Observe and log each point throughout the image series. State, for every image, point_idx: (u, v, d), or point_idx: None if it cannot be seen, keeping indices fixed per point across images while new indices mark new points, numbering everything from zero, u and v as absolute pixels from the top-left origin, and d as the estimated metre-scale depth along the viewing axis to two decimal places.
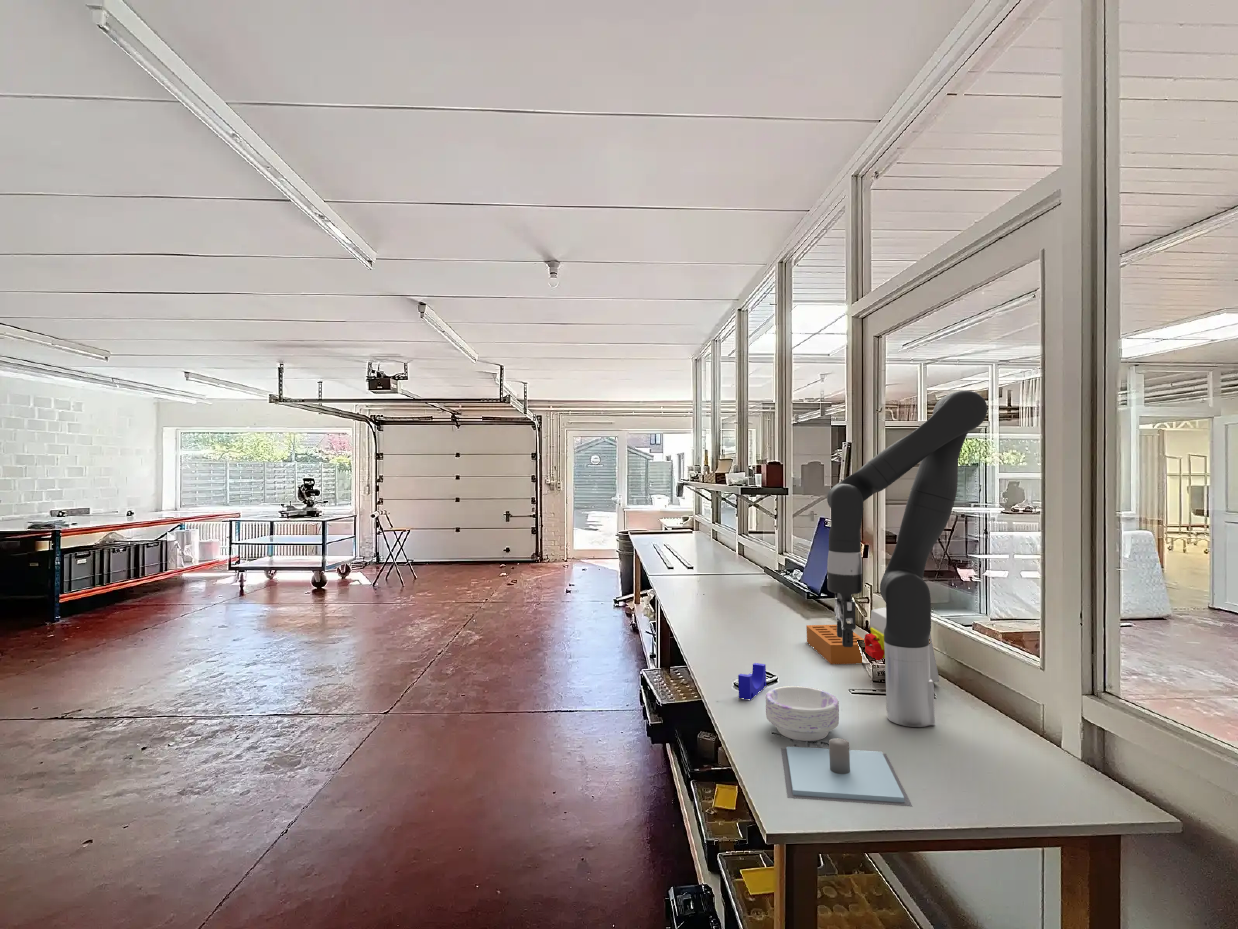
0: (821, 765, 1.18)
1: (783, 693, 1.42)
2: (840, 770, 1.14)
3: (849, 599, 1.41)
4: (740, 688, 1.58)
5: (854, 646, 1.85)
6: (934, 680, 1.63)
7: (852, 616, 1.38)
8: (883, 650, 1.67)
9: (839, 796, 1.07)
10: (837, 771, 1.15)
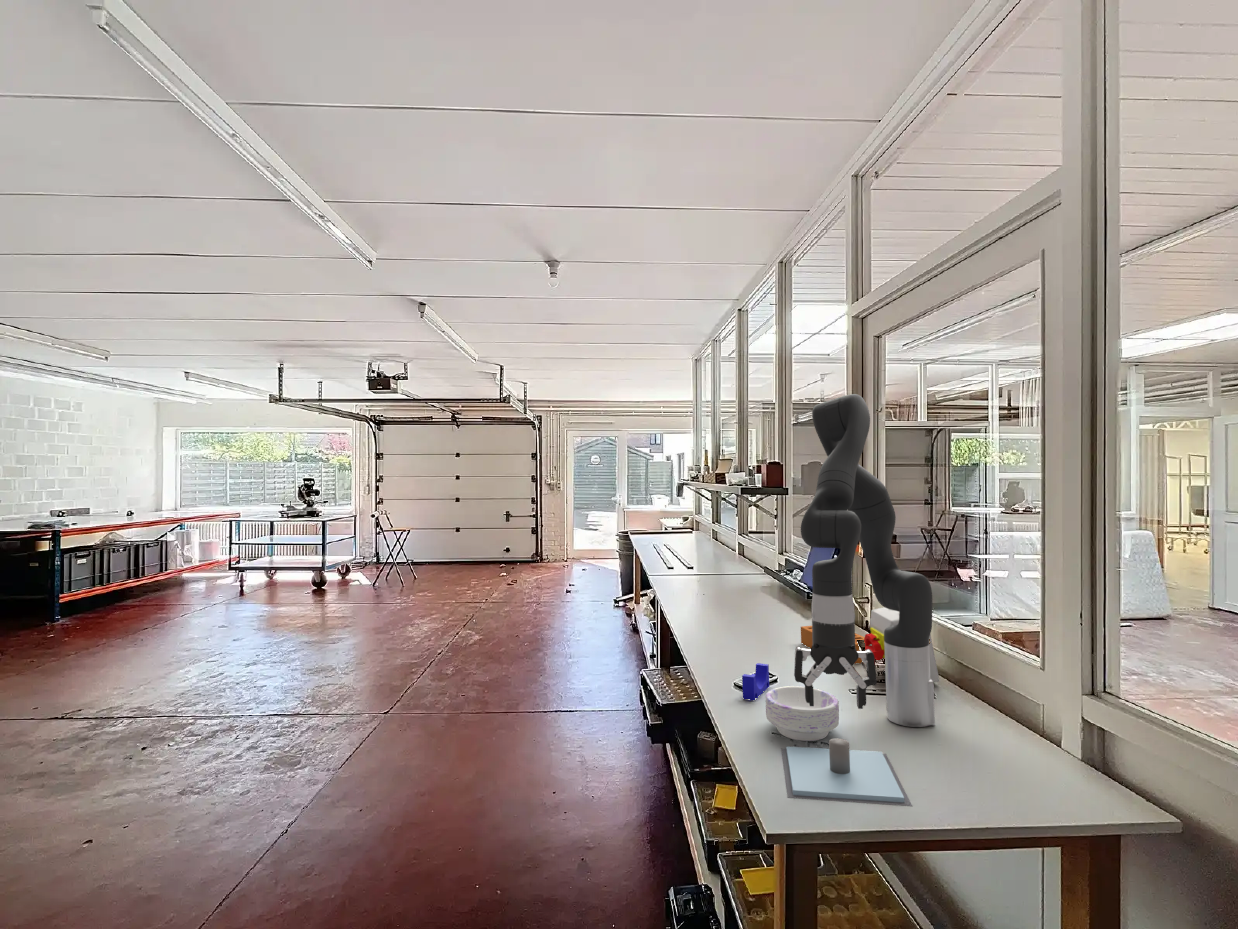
0: (821, 765, 1.18)
1: (783, 693, 1.42)
2: (840, 770, 1.14)
3: None
4: (744, 688, 1.58)
5: None
6: (934, 680, 1.63)
7: None
8: (883, 650, 1.67)
9: (839, 796, 1.07)
10: (837, 771, 1.15)
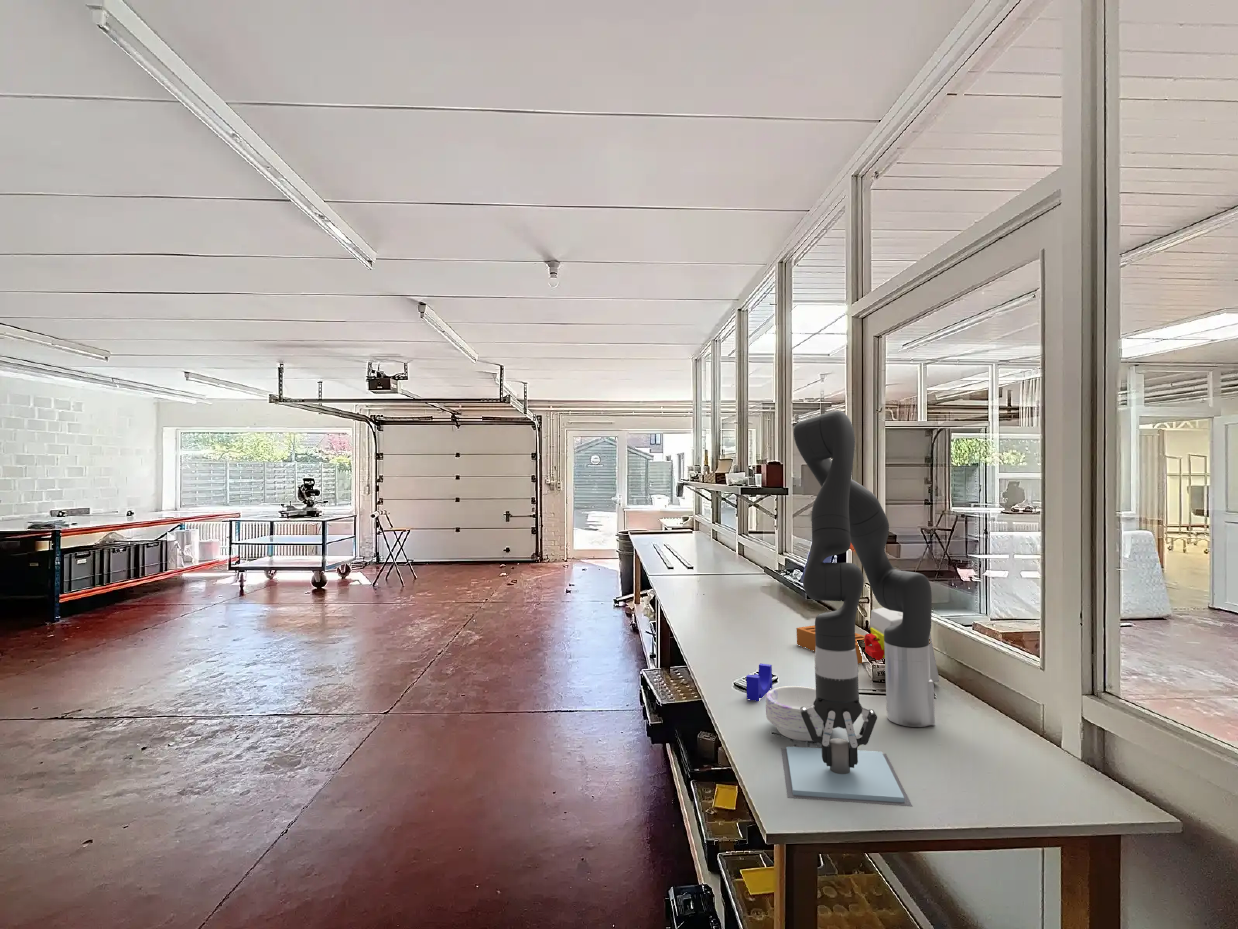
0: (821, 765, 1.18)
1: (783, 693, 1.42)
2: (840, 770, 1.14)
3: None
4: (748, 689, 1.57)
5: None
6: (934, 680, 1.63)
7: None
8: (883, 650, 1.67)
9: (839, 796, 1.07)
10: (837, 771, 1.15)
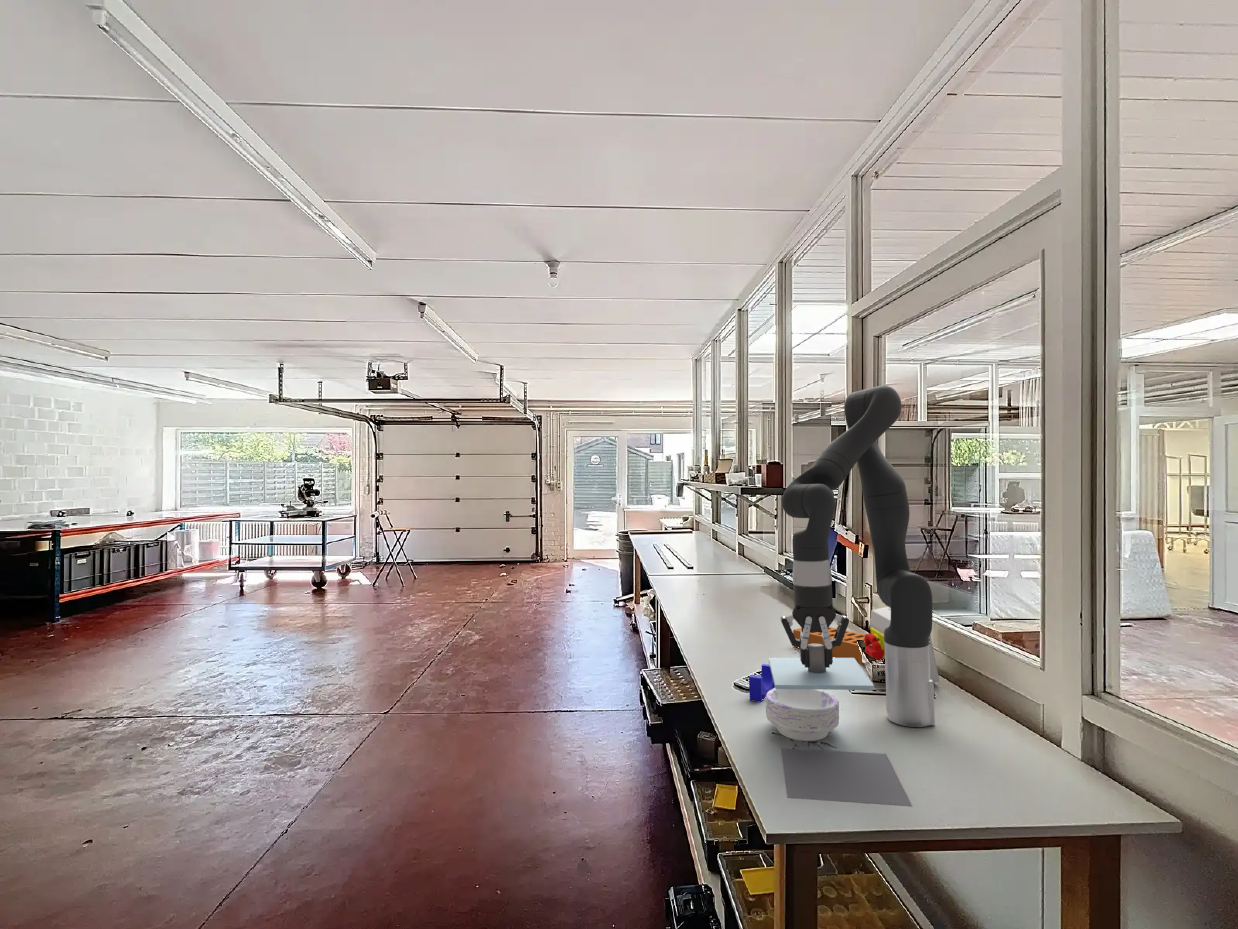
0: (800, 668, 1.30)
1: (783, 693, 1.42)
2: (817, 670, 1.27)
3: None
4: (751, 690, 1.57)
5: None
6: (934, 680, 1.63)
7: None
8: (883, 650, 1.67)
9: (816, 688, 1.20)
10: (814, 671, 1.27)
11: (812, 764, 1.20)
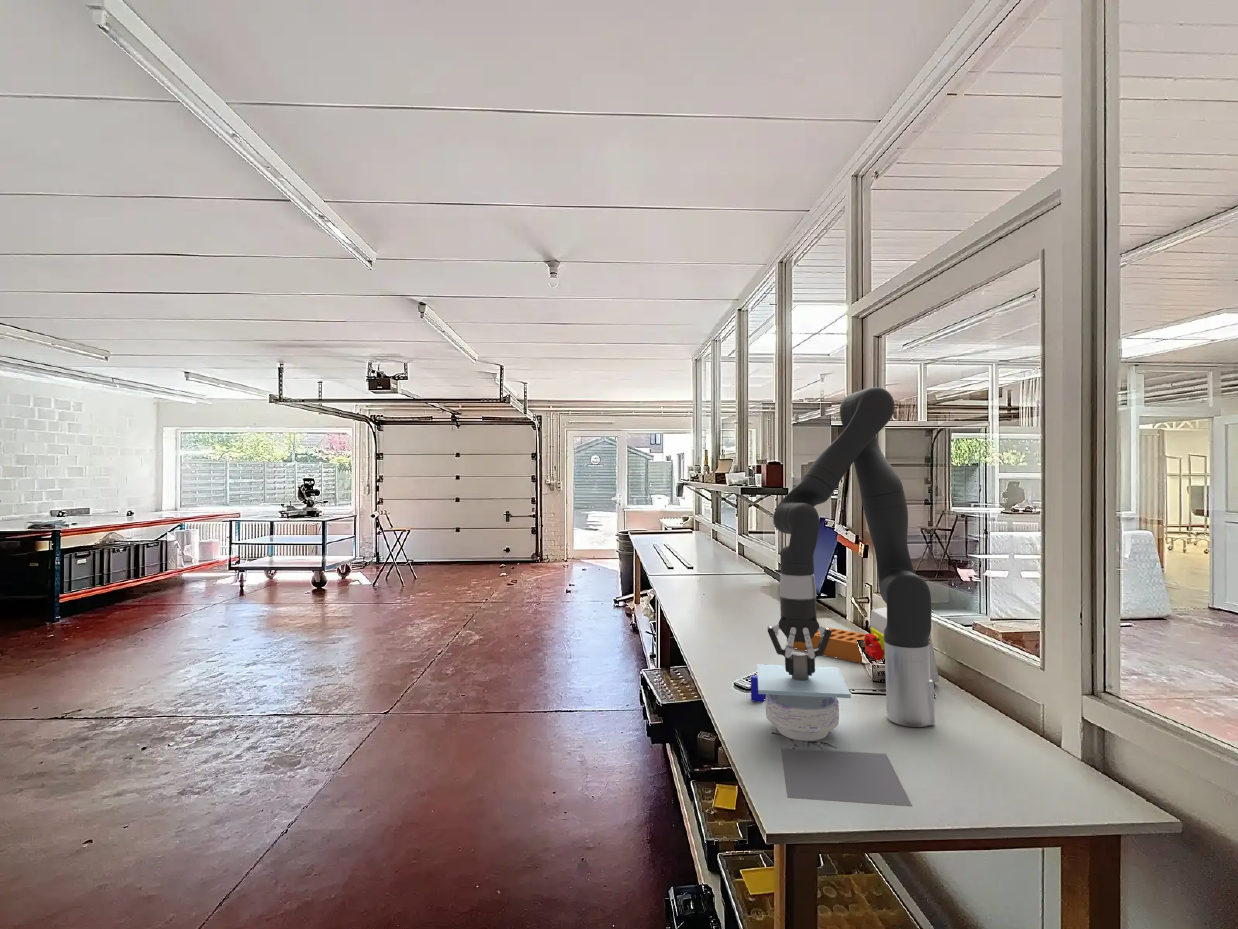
0: (785, 675, 1.39)
1: None
2: (799, 677, 1.35)
3: None
4: (752, 690, 1.57)
5: None
6: (934, 680, 1.63)
7: None
8: (883, 650, 1.67)
9: (796, 694, 1.28)
10: (797, 678, 1.35)
11: (812, 764, 1.20)
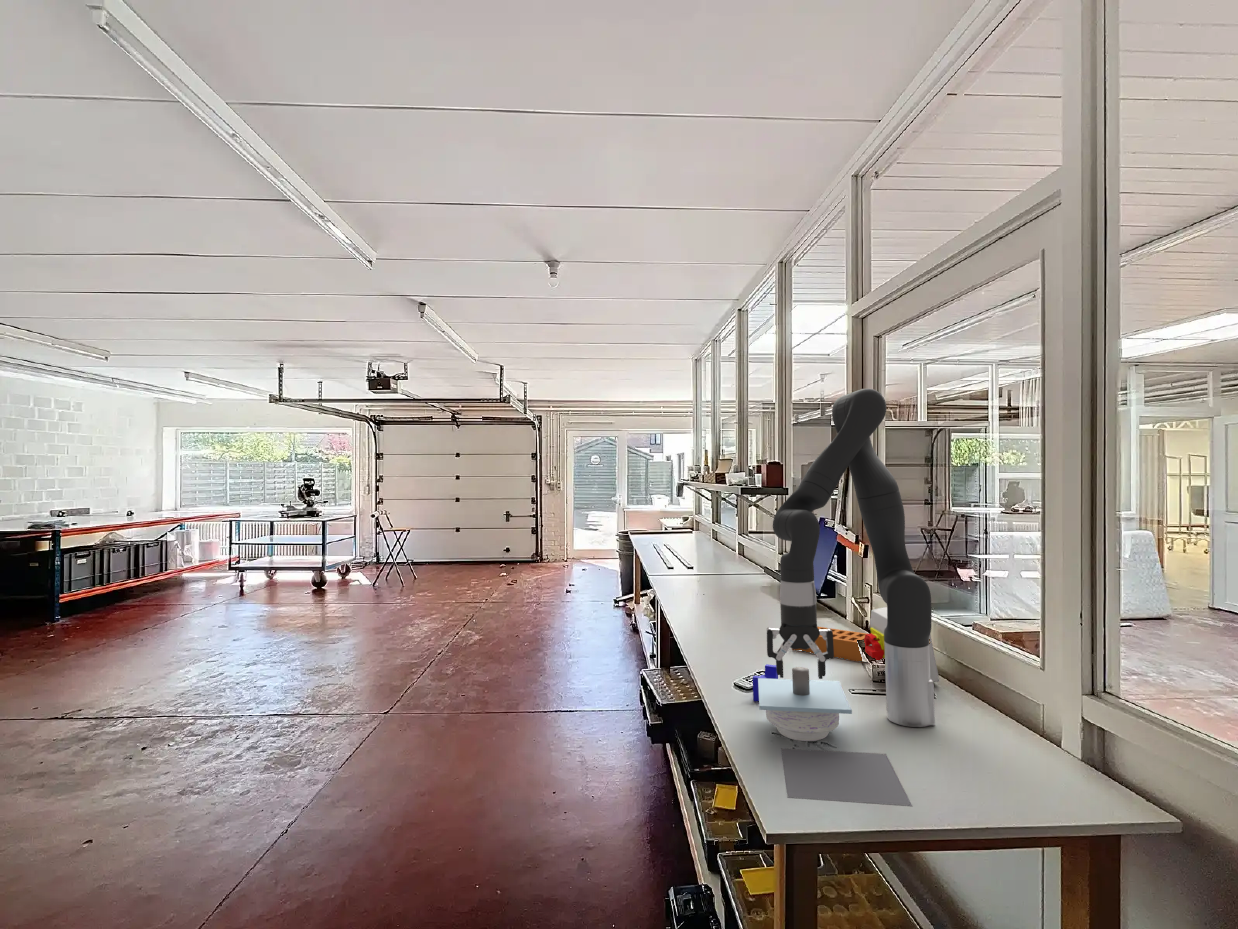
0: (786, 690, 1.38)
1: None
2: (800, 692, 1.35)
3: None
4: (754, 690, 1.56)
5: None
6: (934, 680, 1.63)
7: None
8: (883, 650, 1.67)
9: (798, 710, 1.28)
10: (798, 693, 1.35)
11: (812, 764, 1.20)
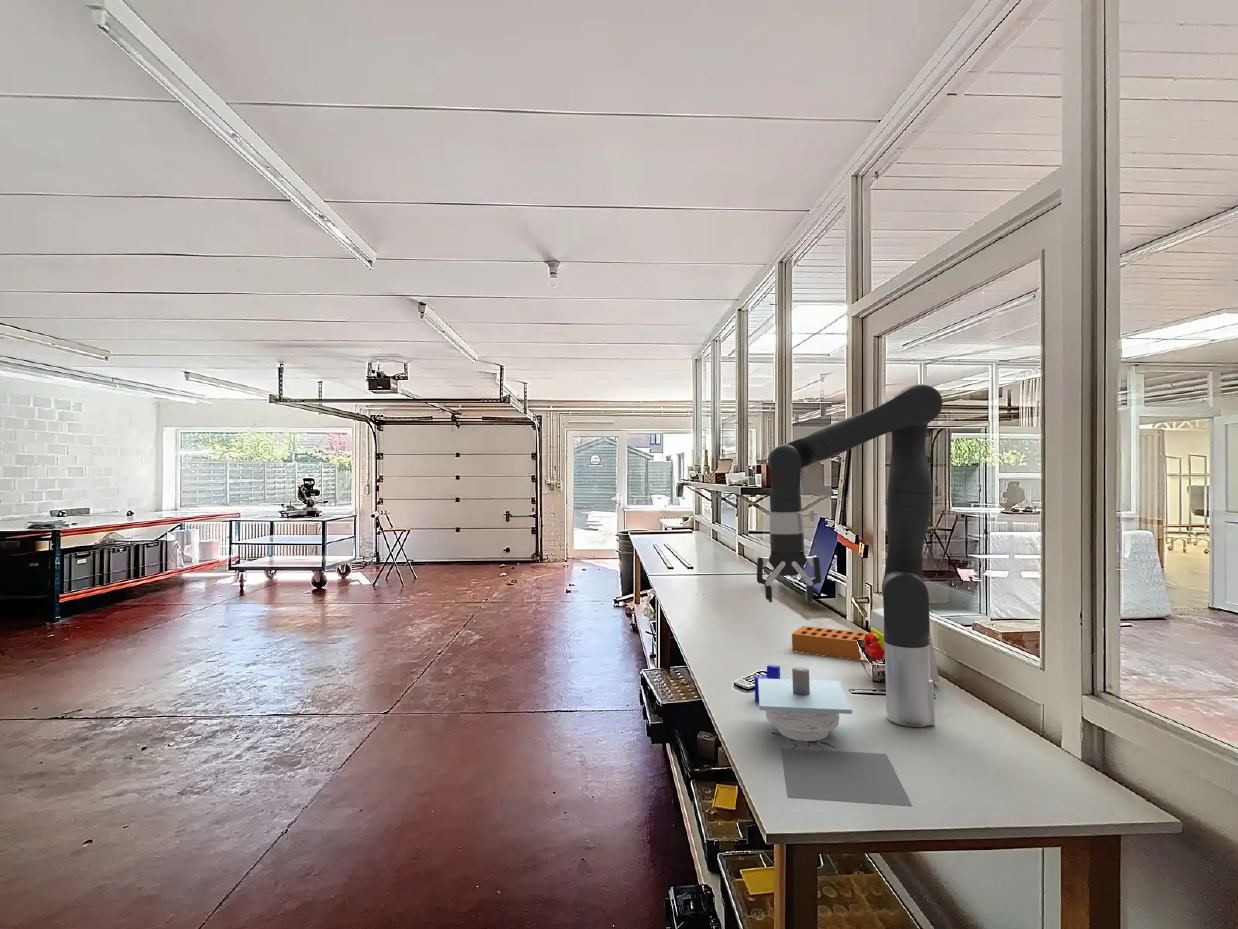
0: (786, 690, 1.38)
1: None
2: (800, 692, 1.35)
3: None
4: (756, 691, 1.56)
5: None
6: (934, 680, 1.63)
7: None
8: (883, 650, 1.67)
9: (798, 710, 1.28)
10: (798, 693, 1.35)
11: (812, 764, 1.20)
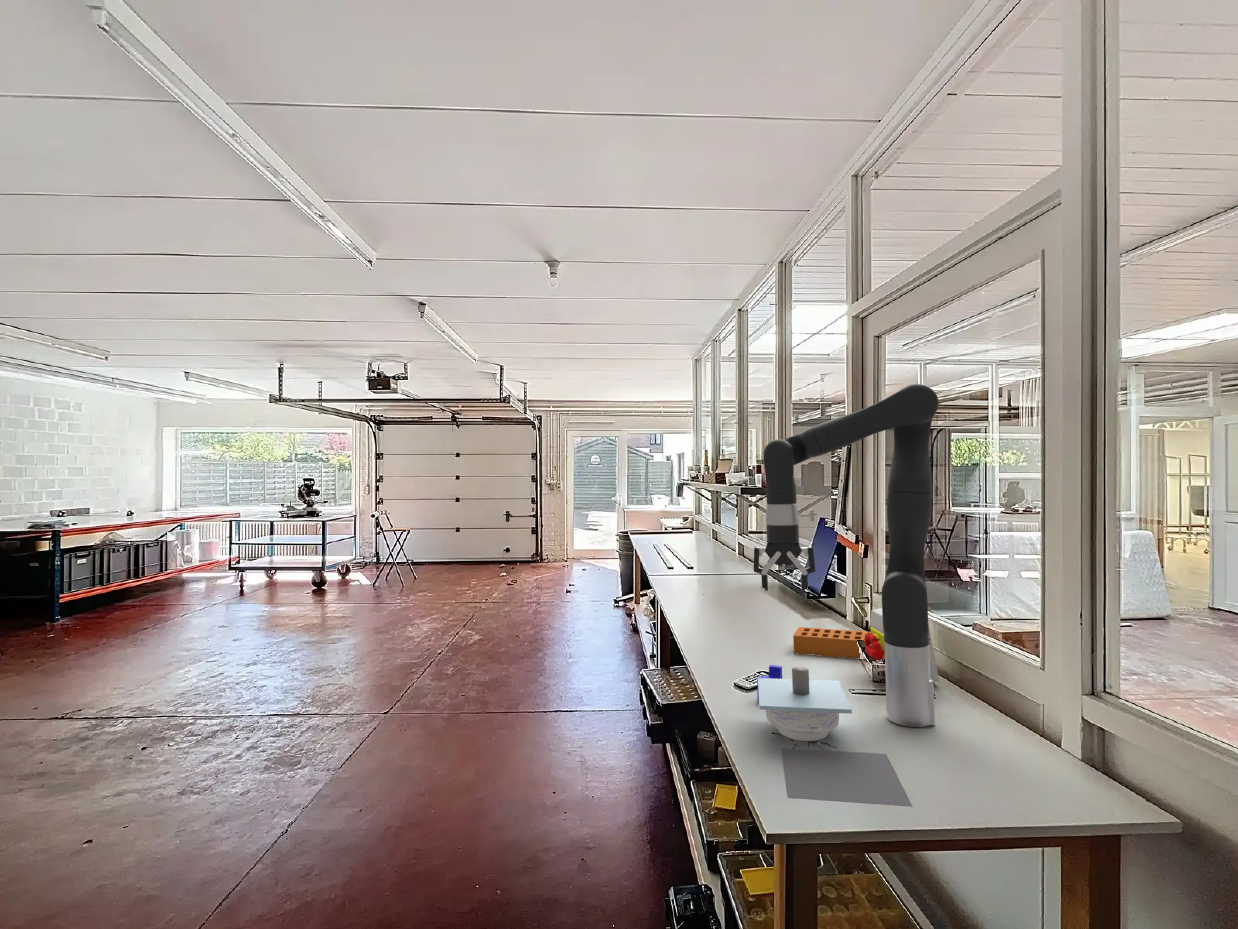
0: (786, 689, 1.38)
1: None
2: (800, 692, 1.35)
3: None
4: None
5: None
6: (934, 680, 1.63)
7: None
8: (883, 650, 1.67)
9: (798, 709, 1.28)
10: (798, 693, 1.35)
11: (812, 764, 1.20)
